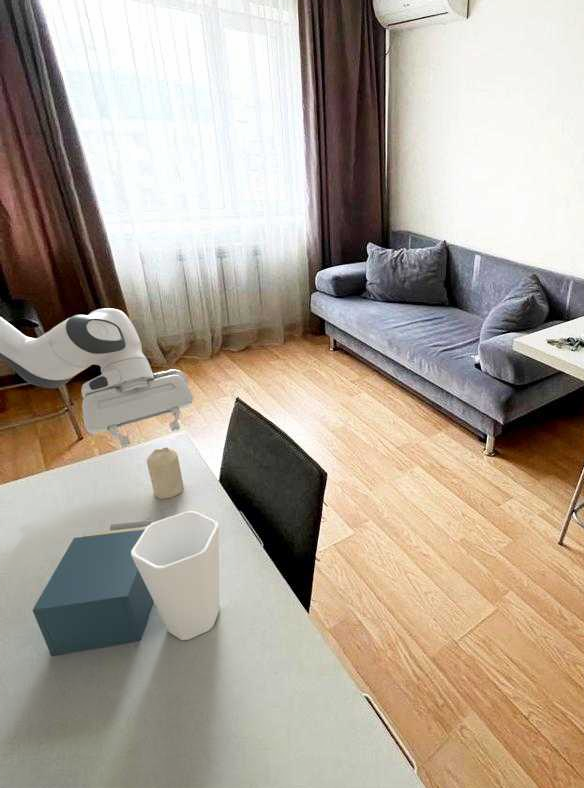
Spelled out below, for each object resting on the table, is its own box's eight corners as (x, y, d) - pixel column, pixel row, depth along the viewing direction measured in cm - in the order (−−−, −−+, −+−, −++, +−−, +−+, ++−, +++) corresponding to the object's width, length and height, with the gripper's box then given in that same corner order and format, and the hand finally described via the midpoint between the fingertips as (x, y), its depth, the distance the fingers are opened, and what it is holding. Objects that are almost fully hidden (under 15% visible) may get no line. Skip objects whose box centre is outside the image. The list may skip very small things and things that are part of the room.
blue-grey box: (88, 580, 83) (73, 537, 79) (164, 569, 86) (154, 527, 82) (51, 656, 71) (32, 610, 67) (141, 641, 74) (127, 595, 70)
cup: (140, 630, 76) (115, 546, 69) (196, 582, 84) (179, 503, 77) (192, 662, 72) (171, 577, 65) (245, 608, 80) (232, 528, 73)
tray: (105, 547, 88) (94, 514, 85) (169, 539, 91) (161, 506, 88) (62, 633, 73) (48, 597, 70) (140, 621, 76) (130, 585, 73)
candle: (148, 496, 102) (138, 456, 98) (167, 480, 107) (159, 441, 103) (170, 501, 101) (162, 461, 97) (189, 485, 106) (182, 446, 102)
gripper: (180, 372, 115) (201, 425, 113) (74, 398, 102) (95, 459, 100) (183, 361, 110) (205, 417, 108) (72, 387, 97) (95, 451, 95)
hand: (152, 437), depth 104 cm, fingers open, 8 cm apart
